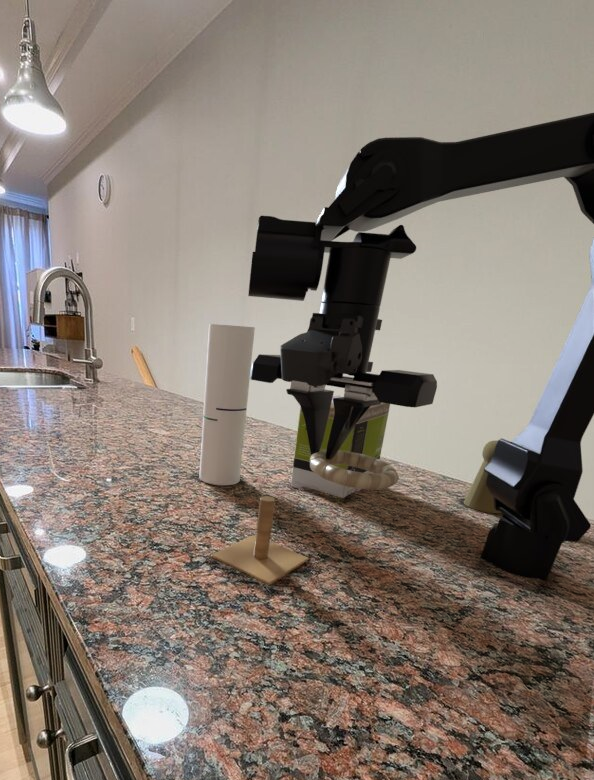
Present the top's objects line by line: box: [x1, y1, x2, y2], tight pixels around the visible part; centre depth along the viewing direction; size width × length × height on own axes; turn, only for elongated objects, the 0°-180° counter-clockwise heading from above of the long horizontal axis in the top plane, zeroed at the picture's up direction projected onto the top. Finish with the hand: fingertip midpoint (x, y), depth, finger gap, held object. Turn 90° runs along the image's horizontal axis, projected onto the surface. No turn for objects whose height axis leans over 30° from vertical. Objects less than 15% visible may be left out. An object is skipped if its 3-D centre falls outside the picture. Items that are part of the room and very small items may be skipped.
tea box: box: [290, 395, 391, 499], centre depth 77 cm, size 15×10×15 cm
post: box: [210, 495, 310, 586], centre depth 49 cm, size 8×8×8 cm
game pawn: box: [463, 440, 502, 514], centre depth 73 cm, size 6×6×11 cm
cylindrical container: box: [198, 323, 256, 486], centre depth 74 cm, size 7×7×25 cm
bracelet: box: [310, 450, 400, 491], centre depth 48 cm, size 9×9×2 cm
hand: (321, 457), depth 50 cm, fingers closed on bracelet, 1 cm apart
